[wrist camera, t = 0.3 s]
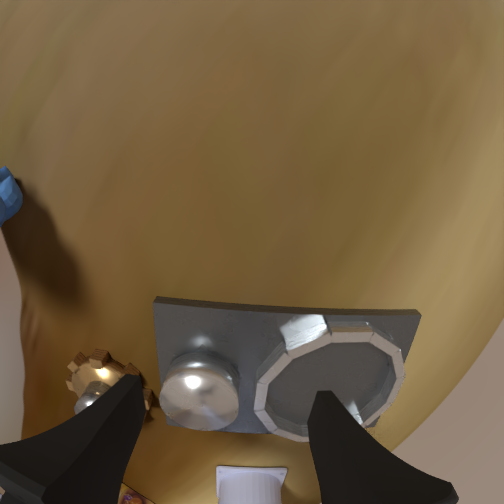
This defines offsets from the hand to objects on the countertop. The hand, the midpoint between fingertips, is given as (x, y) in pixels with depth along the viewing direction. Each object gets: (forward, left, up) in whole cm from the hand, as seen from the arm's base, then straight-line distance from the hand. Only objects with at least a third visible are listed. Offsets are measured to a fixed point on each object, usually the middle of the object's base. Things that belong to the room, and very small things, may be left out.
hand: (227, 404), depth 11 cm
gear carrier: (-7, -4, -10) cm, 13 cm away
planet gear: (-10, +11, -10) cm, 18 cm away
